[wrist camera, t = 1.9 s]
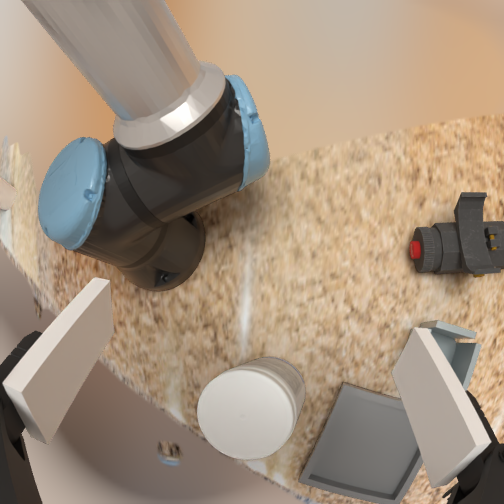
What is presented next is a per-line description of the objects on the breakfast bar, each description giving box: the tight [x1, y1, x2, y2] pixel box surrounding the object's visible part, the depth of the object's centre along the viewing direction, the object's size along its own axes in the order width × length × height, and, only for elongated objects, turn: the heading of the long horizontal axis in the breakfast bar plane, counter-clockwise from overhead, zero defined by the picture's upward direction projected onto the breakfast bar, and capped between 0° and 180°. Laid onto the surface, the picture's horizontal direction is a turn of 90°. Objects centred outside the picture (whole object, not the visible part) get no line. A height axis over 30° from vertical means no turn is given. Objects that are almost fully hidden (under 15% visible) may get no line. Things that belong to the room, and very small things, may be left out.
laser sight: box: [410, 192, 504, 277], centre depth 33 cm, size 10×22×10 cm, turn 89°
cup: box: [408, 320, 481, 391], centre depth 33 cm, size 8×8×7 cm
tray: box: [298, 382, 423, 504], centre depth 34 cm, size 15×15×2 cm
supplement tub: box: [197, 357, 306, 460], centre depth 33 cm, size 10×10×15 cm
